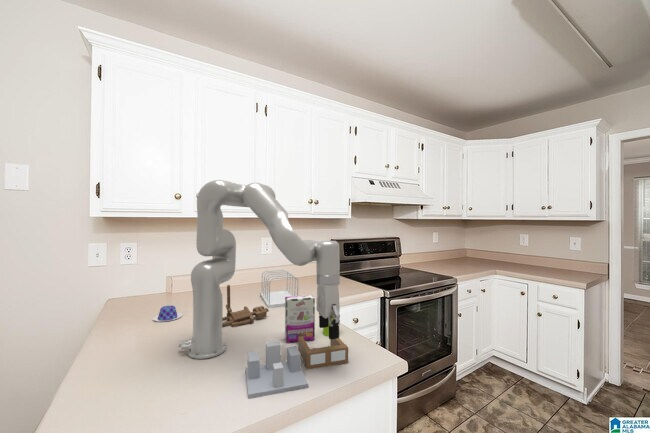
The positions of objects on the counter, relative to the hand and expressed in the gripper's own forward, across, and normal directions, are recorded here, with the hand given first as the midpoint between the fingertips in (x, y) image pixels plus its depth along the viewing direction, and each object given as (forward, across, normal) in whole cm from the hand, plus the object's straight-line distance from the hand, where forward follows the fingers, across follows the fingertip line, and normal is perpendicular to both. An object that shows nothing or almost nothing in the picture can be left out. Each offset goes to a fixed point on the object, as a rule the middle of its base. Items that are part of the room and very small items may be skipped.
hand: (328, 332), depth 91 cm
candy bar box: (+10, -21, -5) cm, 24 cm away
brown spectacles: (+10, -5, -1) cm, 11 cm away
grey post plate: (+10, +4, -18) cm, 21 cm away
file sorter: (+10, -77, -4) cm, 77 cm away
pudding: (+9, -62, -58) cm, 85 cm away
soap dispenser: (+10, -23, +8) cm, 27 cm away
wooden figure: (+10, -46, -25) cm, 53 cm away
